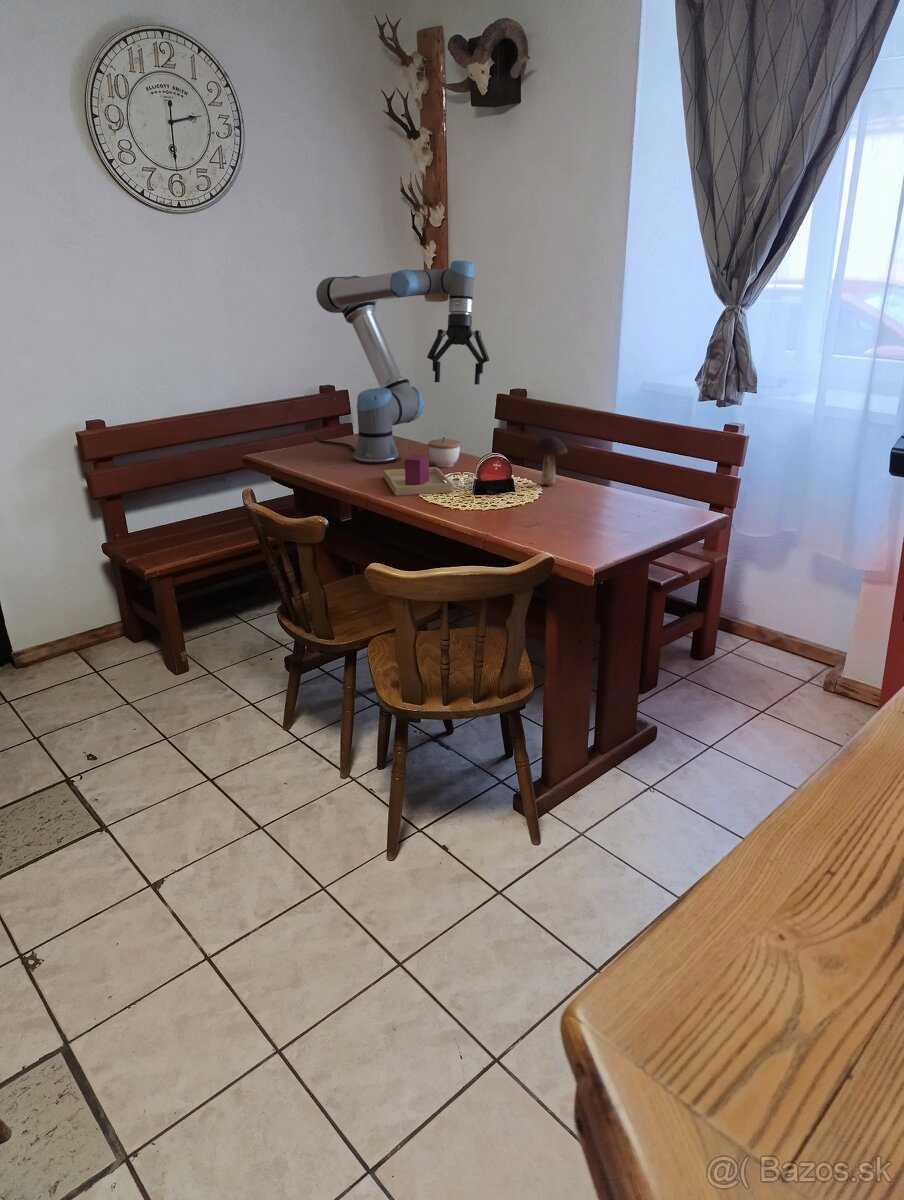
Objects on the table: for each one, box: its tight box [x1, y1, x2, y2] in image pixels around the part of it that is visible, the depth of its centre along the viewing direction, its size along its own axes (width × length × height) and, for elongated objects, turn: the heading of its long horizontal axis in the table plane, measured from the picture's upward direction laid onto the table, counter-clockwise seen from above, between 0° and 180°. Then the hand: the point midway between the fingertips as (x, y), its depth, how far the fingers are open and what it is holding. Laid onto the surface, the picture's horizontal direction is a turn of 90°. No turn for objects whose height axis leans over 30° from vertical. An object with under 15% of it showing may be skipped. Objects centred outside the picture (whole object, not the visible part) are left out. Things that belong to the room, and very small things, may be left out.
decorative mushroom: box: [531, 436, 569, 487], centre depth 247 cm, size 11×11×15 cm
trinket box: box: [427, 436, 461, 468], centre depth 272 cm, size 11×11×9 cm
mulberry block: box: [404, 453, 430, 486], centre depth 249 cm, size 7×5×8 cm
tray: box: [383, 466, 453, 496], centre depth 250 cm, size 21×17×3 cm
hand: (456, 383), depth 262 cm, fingers open, 13 cm apart
